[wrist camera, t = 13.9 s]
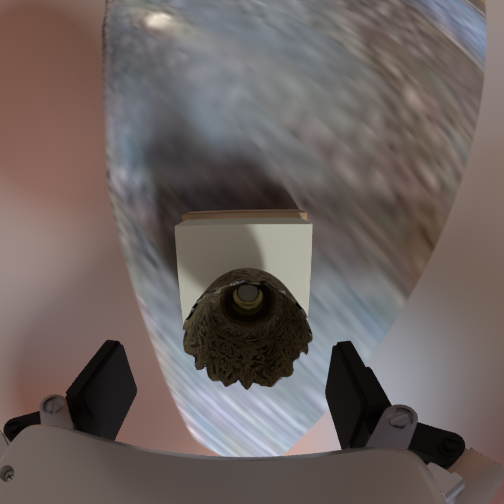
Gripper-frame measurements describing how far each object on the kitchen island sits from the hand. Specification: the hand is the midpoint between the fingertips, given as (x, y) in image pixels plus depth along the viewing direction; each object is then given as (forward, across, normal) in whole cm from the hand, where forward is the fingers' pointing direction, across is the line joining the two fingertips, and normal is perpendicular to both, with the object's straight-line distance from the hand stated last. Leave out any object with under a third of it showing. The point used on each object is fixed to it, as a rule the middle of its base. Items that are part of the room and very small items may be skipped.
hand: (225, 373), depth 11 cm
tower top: (+16, 0, +1) cm, 16 cm away
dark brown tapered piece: (+12, -1, +1) cm, 12 cm away
